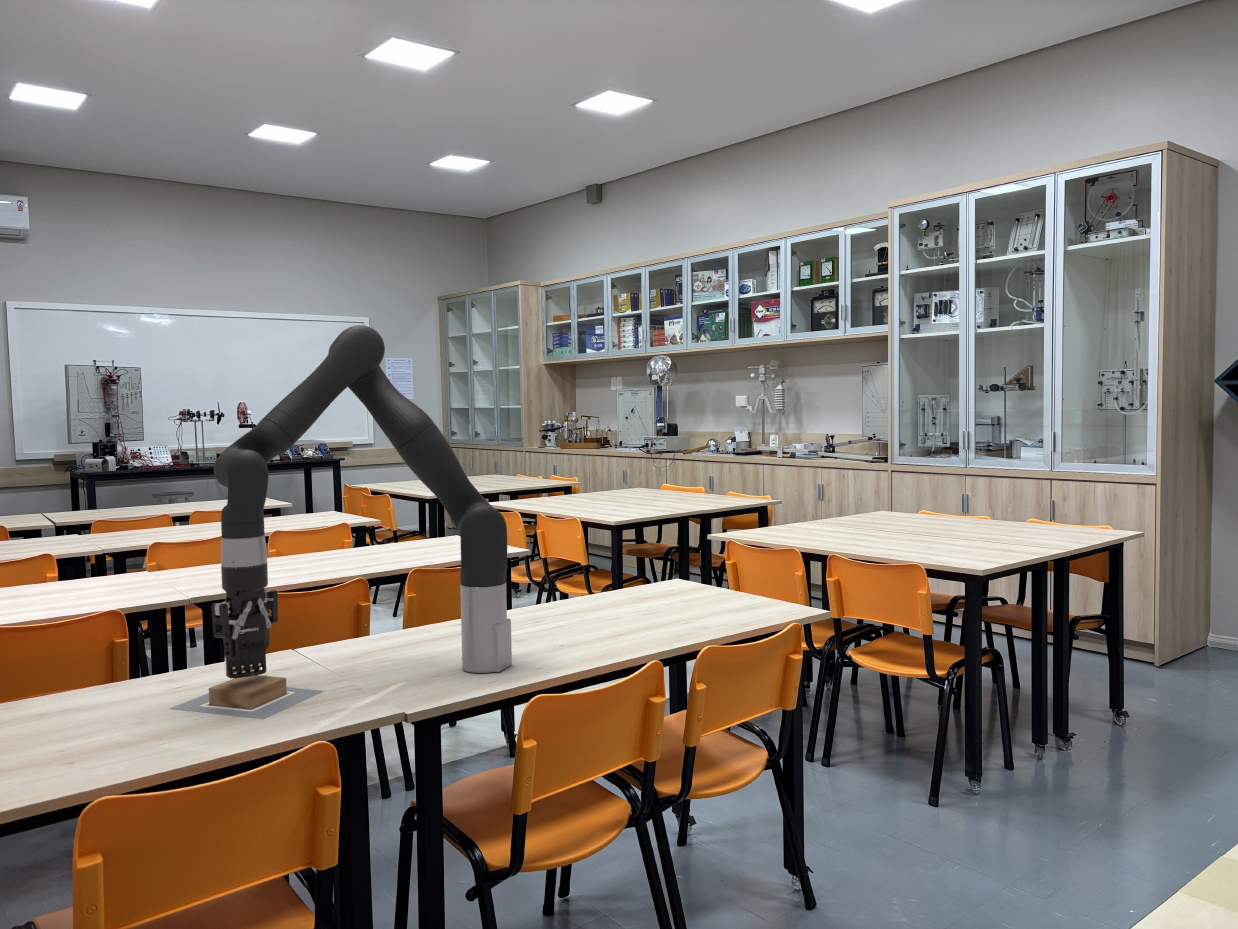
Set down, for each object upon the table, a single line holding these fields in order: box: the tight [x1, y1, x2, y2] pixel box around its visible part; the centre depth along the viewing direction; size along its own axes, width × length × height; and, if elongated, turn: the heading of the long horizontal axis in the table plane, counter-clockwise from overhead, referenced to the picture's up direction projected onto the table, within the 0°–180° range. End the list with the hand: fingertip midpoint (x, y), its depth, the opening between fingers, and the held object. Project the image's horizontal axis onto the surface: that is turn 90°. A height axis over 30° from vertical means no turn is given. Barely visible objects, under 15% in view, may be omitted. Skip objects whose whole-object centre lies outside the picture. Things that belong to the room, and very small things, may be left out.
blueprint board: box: [168, 686, 325, 720], centre depth 155 cm, size 20×16×1 cm
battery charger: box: [224, 612, 267, 679], centre depth 154 cm, size 7×4×11 cm, turn 122°
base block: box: [208, 674, 288, 709], centre depth 155 cm, size 9×9×3 cm
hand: (247, 654), depth 154 cm, fingers closed on battery charger, 7 cm apart
